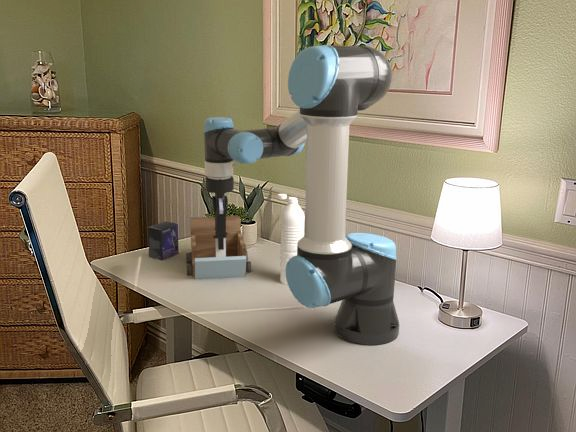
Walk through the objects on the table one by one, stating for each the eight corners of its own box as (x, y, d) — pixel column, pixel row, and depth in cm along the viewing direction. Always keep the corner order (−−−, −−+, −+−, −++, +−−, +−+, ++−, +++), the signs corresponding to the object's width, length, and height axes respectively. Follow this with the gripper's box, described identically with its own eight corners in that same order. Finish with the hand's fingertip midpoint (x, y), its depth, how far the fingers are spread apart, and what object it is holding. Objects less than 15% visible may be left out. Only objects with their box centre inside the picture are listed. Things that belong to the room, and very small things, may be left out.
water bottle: (308, 284, 174) (310, 197, 167) (291, 290, 169) (292, 201, 162) (286, 275, 180) (287, 192, 173) (270, 281, 175) (270, 195, 169)
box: (162, 263, 189) (160, 229, 186) (148, 259, 191) (146, 226, 188) (179, 256, 195) (178, 223, 192) (166, 252, 198) (164, 220, 195)
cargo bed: (251, 276, 178) (251, 233, 175) (187, 280, 175) (185, 236, 172) (245, 255, 196) (244, 215, 193) (186, 257, 193) (184, 217, 190)
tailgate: (245, 278, 177) (247, 259, 170) (194, 280, 174) (194, 261, 168) (245, 274, 178) (246, 255, 171) (194, 277, 175) (194, 258, 169)
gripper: (235, 181, 159) (236, 267, 166) (231, 170, 171) (232, 250, 178) (206, 182, 158) (208, 268, 165) (204, 171, 170) (206, 251, 177)
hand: (220, 259), depth 172 cm, fingers closed
